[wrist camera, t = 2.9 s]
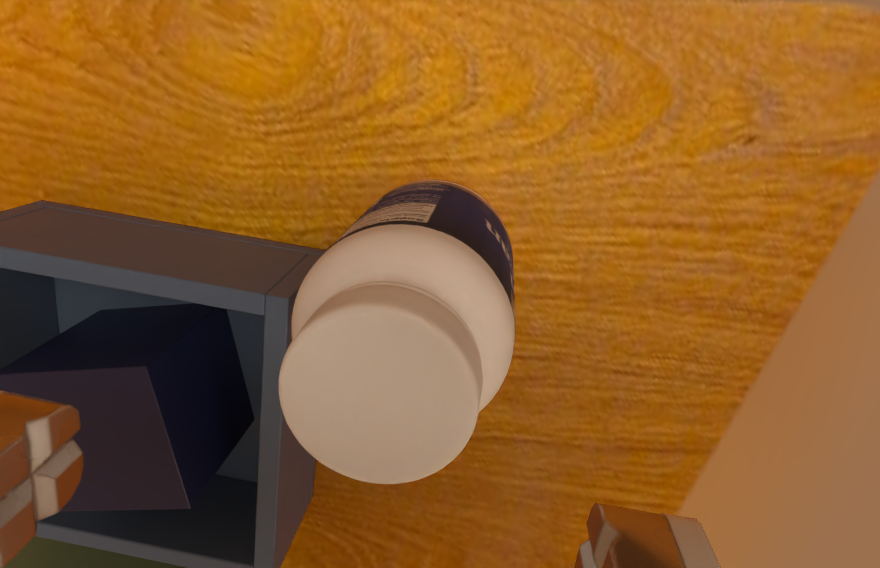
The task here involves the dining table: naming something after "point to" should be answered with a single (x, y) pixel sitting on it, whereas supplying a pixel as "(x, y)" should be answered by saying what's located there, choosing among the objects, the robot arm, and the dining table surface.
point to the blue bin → (157, 284)
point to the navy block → (143, 401)
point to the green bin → (75, 557)
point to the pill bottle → (401, 335)
